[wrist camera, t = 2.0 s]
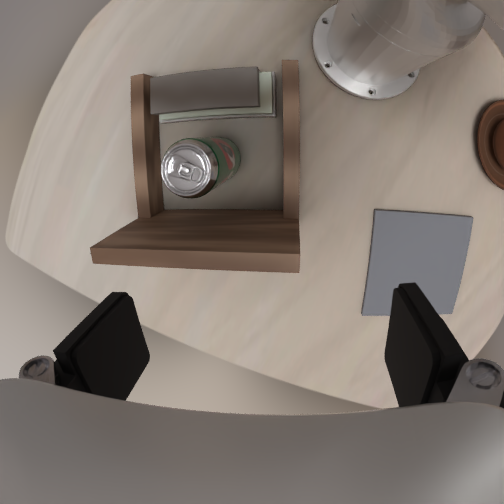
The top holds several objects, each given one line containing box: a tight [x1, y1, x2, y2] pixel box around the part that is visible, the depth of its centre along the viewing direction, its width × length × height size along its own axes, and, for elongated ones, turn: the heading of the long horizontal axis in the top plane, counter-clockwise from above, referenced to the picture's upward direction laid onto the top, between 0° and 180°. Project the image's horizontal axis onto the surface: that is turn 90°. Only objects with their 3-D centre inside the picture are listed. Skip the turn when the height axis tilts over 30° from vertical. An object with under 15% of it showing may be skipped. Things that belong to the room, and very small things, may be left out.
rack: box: [90, 60, 300, 273], centre depth 28 cm, size 18×18×14 cm
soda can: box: [161, 137, 240, 198], centre depth 29 cm, size 5×5×12 cm
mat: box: [361, 209, 473, 316], centre depth 36 cm, size 14×14×1 cm
